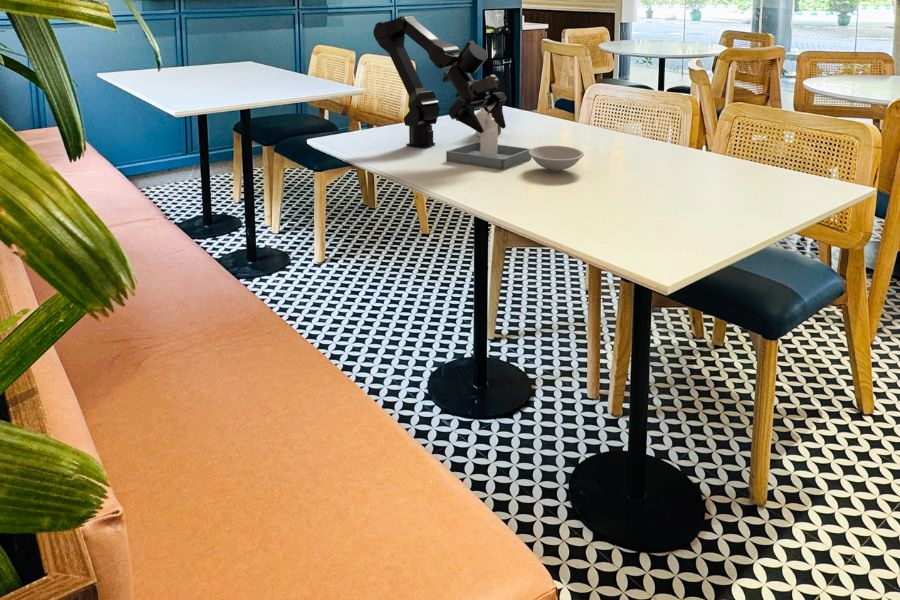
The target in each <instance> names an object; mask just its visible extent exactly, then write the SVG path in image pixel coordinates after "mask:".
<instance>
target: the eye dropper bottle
mask: <svg viewBox="0 0 900 600" xmlns="http://www.w3.org/2000/svg"><path fill="white" fill-rule="evenodd" d="M485 126H486V127H484V128H483V130H484V131H483V133H481V136H480V142H481V145H480V156H486V157H493V158H494V157H496V156H497V149H498V144H499V142H498V141H499V136H498V129H497V128H496V127H494V118H492V115H491V113H489V115H488V118H486V119H485Z"/></svg>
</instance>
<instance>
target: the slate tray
mask: <svg viewBox="0 0 900 600" xmlns="http://www.w3.org/2000/svg"><path fill="white" fill-rule="evenodd" d="M480 145H481V141H475V142H471V143H467V144H465V145H461V146H459V147H456V148H453V149H449V150H446V155H445V157H446V158H445V159H446V160H445V162H448V163H455V164H462V165H467V166H475V167H481V168H487V169H494V170H501V171H504V170H507V169H509V168H512V167H514V166H516V165H519V164H522V163H524V162H527V161H529V160H532V159H533V158H532V156H531V155H530V154H529V150H530V149H531V148H527V147H519V146H513V145H505V144H499V143H498V149H497V156H496V157H494V158H493V157H486V156H480Z"/></svg>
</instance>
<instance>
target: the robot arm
mask: <svg viewBox="0 0 900 600" xmlns="http://www.w3.org/2000/svg"><path fill="white" fill-rule="evenodd" d="M372 33H373V37H374V39H375V41H376V43H377V44H378V45H379V47H380V48H382V50H384V51H385V52H386V53H388V54H389V56H390V59H391V61H392V63H393V65H394V67H395V69H396V72H397V74H398V75H399V78H400V80H401V82H402V84H403V86H404V89H405V91H406V93H407V95H408V102H407V108H408V110H409V111H408V112H407V113H406V115H405V116H404V117H403V122H404V125H405V126H406V127H408V130H409V131H408V134H409V135H408V136H409V137H408V138H409V139H408V140H409V141H408V143H406V144H405V145H406V146H407V147H412V148H421V149H425V148H429V147H431V146H435V145H436V142H434V130H433V125H436V124H437V121H438V116H439V114H440V109H441V108H440V105H439V104H440V102H439V100H438V98H437V97H436V94H435V92H434V91H433V90H429V91H427V89H425V88H424V85H423V84H422V81H421V79H420V78H419V75H418V73H417V71H416V68H415V66H414V65H413V63H412V60H411V58H410V56H409V54H408V51H407V50H406V47H405V41H406V40H405V39H406V36H405V35H407V37H408V38H410V39H411V40H412V41H413V42H415V43H416V44H417V45H418V46H419V47H421V48H422V49H423V50H424V51H425V52H426V53H427V55H428V58H429V60H430V61H431V63H432V64H433V65H434V67H436V68H437V69H448V68H449V69H448V71H444V72H443V77H442V83H449V82H450V84H451V85H452V86H453V89H454V90H455V91H456V93H455V94H454V96H455V97H456V98H457V99H455V101H454V102H453V103H452V105H451V106H450V107H449V108H448V116H449V118H451V120H455V121H456V122H460V123H462V124H464V125H466V126H467V127H470V128H471V129H472V130H475V132H476V131H478V132H479V133H483V131H484V130H483V128H482V126H481V124H480V122H479V120H478V119H477V117H476V114H475V110H476V109H477V110H478V109H480V108H484V109H485V111H486V112H488V114H487V115H489V113H491V115H492V118H494V121H495V122H496V123H497V124H498V125H499V126H500V127H501V129H505V128H506V127H507V125H506V121H505V117H504V111H503V105H504V104H505V103H506V101H507V99H508V98H507V96H506V94H505V93H504V92H502V91H501V92H500V91H499V92H494V93H491V94H490V93H489V92H490V91H493V90H496V89H498V86H499V84H500V80H499V78H498V77H497V76H496V75H495V74H489V76H486V77H483V78H481V79H474V78H473V77H472V75H471V74H475V73H477V71H478V70H479V69H480V68H481V67H482V65H483V64H484V63H485V62H486V60H487V59H488V58H489V56H488V52H487V50H486V49H485V48H483V47H482V46H481V45H479V44H476V42H475V41H474V40H468V41H467V42H466V44H465V46H464V48H462V50H460V48H459V47H458V46H456V45H454V44H452V43H450V42H448V41H444V40H441V39H440V38H439V37H437V36H436V35H435V34H433V33H432V32H430V31H429V30H428V29H427V28H426V27H424V25H422V24H421V23H420V22H419V21H417V19H416V18H415V16H412V15H403V16H399V17H397V18H394V19H392V20H388V21H379V22H377V23H376V24H375V25H374V28H373V32H372ZM486 96H489V98H488V99H486V100H485V97H486Z"/></svg>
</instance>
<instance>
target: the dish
mask: <svg viewBox="0 0 900 600" xmlns="http://www.w3.org/2000/svg"><path fill="white" fill-rule="evenodd" d="M529 149H530V150H529V154H530V155H531V156H532V158H531V159H533V160H534V161H535V163H536V164H537V165H539V166H540V167H541V168H544V169H547V170H551V172H554V173H556V172H557V173H558V172H559V171H563V170H567V169H570V168H572V167H573V166H575V165H576V164H577V163H578V162H579V161H580V159H582V158H583V157H584V156H585V153H584V151H582V150H580V149H579V148H576V147H570V146H564V145H540V146H535V147H533V148H529Z"/></svg>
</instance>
